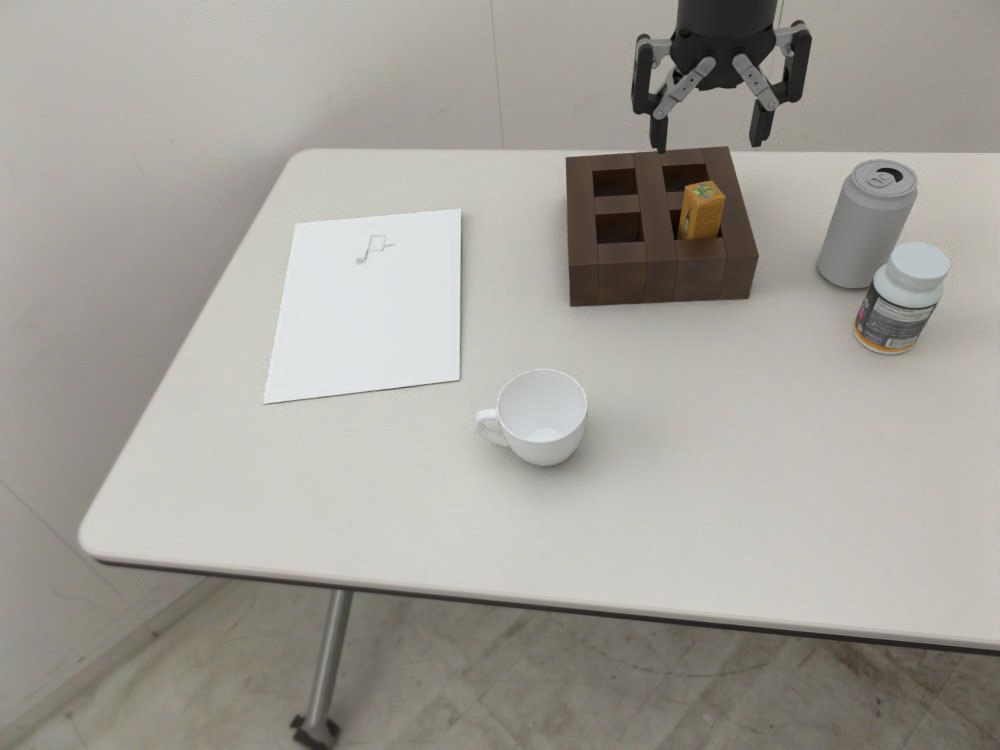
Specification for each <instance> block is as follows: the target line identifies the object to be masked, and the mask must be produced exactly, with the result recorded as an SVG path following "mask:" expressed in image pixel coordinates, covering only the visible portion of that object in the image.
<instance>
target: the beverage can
mask: <svg viewBox="0 0 1000 750" xmlns="http://www.w3.org/2000/svg"><path fill="white" fill-rule="evenodd" d="M918 185H919V178H918V176H917V174H916V172H914V170H913V169H912V168H910V167H909V166H907V165H906V164H903V163H901V162H898V161H895V160H890V159H877V158H875V159H869V160H865V161H861V162H860V163H858V164H856V165H855V166H854V167H853V168H852V170H851V171H850V174H848V175H847V176H846V177H845V179H844V181H843V184H842V186H841V189H840V192H839V195H838V198H837V201H836V205H835V207H834V209H833V213H832V216H831V219H830V221H829V225H828V227H827V230H826V234H825V237H824V240H823V242H822V246H821V249H820V251H819V255H818V258H817V262H816V264H817V269H818V271H819V273H820V274H821V275H822V276H823V278H825V279H826V280H827V281H828V282H829V283H831V284H833V285H835V286H837V287H840V288H845V289H861V288H866V287H869V286H870V284H871V282H872V279H873V276H874V275H875V273H876V272H877V270H878V269H879V268H880V267H882V266H883V265H885V264H887V262H888V259H889V257H890V255H891V253H892V251H893V250H894V249H895V248H896V246H897V243H898V241H899V238H900V237H901V234H902V231H903V230H904V227H905V225H906V223H907V222H908V221H907V220H908V219H909V216H910V214H911V211H912V210H913V207H914V205H915V203H916V200H917V198H918V194H919V193H918V188H917V186H918Z"/></svg>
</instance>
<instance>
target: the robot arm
mask: <svg viewBox="0 0 1000 750" xmlns="http://www.w3.org/2000/svg"><path fill="white" fill-rule="evenodd" d="M778 1H779V0H678V2H677V14H676V22H675V23H676V24H675V28H674V31H673V33H672V35H671V36H670V38H659V39H656V38H655V39H653V38H651V36H650V34H648V33H641V34H639V35H638V36H637V38H636V40H635V50H634V59H633V69H632V79H631V89H630V100H631V106H632V112H633V113H634V114H635V115H638V116H639V115H643V114H646V115H648V116H649V129H648V137H649V142H650V145H651V146H650V147H651V149H656V151H657V154H664V153H666V150H667V143H668V128H669V127H668V126H669V116H668V115H669V114H670V112H671V111H672V110H673V109H674V108H675V107H676V106H677V104H679V103H683V101H684V100H685V99H686V98H687V97H688V96H689V94H690V93H691V92H692V91H693V90H694V89H698V92H707V91H711V90H714V89H725V90H732V89H737V88H738V85H741V84H743V83H745V84H746V86H747V87H748V89H749V90H750V91H751V93H752V95H753V96H754V97H756V98H755V99H754V104H753V110H752V115H751V119H750V125H749V130H748V139H749V144H750V146H751V148H753V149H754V148H761V146H762V143H763V142H764V141H766V142H767V140H768V139H769V137H770V136H771V132H772V126H773V122H774V119H775V113H776V110H777V109H778V107H780V105H783V104H785V103H788V102H789V103H791V104H796V103H797V102H800V100H801V99H802V97H803V94H804V88H805V83H806V82H805V81H806V76H807V71H808V65H809V59H810V54H811V47H812V42H813V37H812V34H811V32H810V30H809V28H808V26H807V24H806V21H804V20H802V19H797V20H794V21H793V22H792V23H791V24H790V26H789V27H782V28H781V27H780V28H776V29H775V28H774V22H775V19H776V18H775V17H776V14H777V13H776V12H777V6H778ZM776 46H777V47H779V49H780V52H781V54H782V56H783V57H784V62H783V63H784V64H783V71H782V78H781V81H779V82H777V83H774V84H772V83H771V81H770V80H769V78H768V77H767V75H766V74H765V73H764V70H763V68H762V67H761V64H762V63H763V62H764V60H766V59H767V58H768V56H769V55H770V54H771V53H772V52H773V50H774V49H775V47H776ZM667 56H669V57H670V59H671V61H672V62H673V63H674V65H673V67H672V68H671V69H669V71H668V72H667V74H666V75H665V79H664V80H663V81H662V83H661V84H660V86H659V87H658V88H657V89H656V90H655V91H654V93H651V92H650V87H651V86H650V85H651V77H652V71H653V70H655V69H657V68H658V67H660V65H661V64H662V63H661V62H662V61H663V59H664V58H665V57H667Z"/></svg>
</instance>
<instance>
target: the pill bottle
mask: <svg viewBox="0 0 1000 750" xmlns="http://www.w3.org/2000/svg"><path fill="white" fill-rule="evenodd" d="M950 270H951V259H950V257H949V256H948V255H947V254H946V253H945V251H943V250H942V249H941V248H939V247H937V246H935V245H933V244H930V243H927V242H920V241H909V242H903V243H901V244H899V245H896V246H895V248H894V250H893V251H892V253H891V255H890V257H889V259H888V262H887V264H885V265H883V266H882V267H880V268H879V269H878V270H877V272H876V273H875V275H874V276H873V279H872V282H871V284H870V286H868V288H867V291H866V293H865V296H864V298H863V300H862V302H861V305H860V307H859V308H858V310H857V311H858V312H857V314H856V316H855V318H854V321H853V324H852V325H853V328H852V330H853V334H854V336H855V338H856V340H857V341H858V342H859V343H860V344H861V345H862V346H863V347H865V348H866V349H868V350H870V351H872V352H874V353H878V354H883V355H898V354H899V355H900V354H903V353H905V352H907V351H909V350H910V349H912V348H913V346H914V345H916V343H917V342H918V340H919V338H920V336H921V335H922V333H923V332H924V329H925V328H926V327H927V324H928V322H929V320H930V319H931V317H932V315H933V314H934V311H935V310H936V308H937V307H938V305H939V303H940V301H941V300H942V298H943V295H944V292H945V279H946V278H947V276H948V274H949V272H950Z"/></svg>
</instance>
